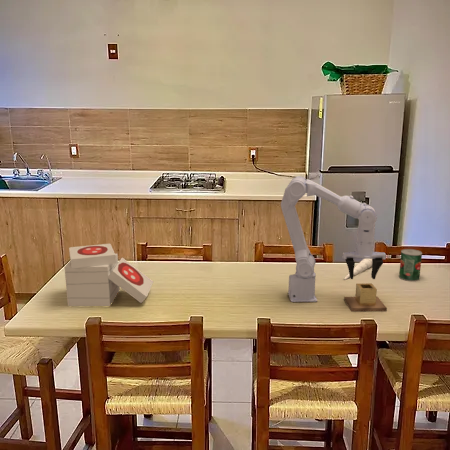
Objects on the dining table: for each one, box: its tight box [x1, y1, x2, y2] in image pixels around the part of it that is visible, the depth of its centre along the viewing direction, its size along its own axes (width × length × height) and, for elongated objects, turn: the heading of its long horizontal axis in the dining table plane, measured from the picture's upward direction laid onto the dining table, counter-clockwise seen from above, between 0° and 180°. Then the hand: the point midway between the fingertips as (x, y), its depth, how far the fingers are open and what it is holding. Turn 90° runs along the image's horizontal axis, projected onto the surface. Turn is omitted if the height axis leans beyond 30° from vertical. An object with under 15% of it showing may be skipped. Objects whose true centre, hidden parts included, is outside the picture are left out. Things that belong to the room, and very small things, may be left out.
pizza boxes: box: [64, 243, 154, 307], centre depth 175 cm, size 19×30×18 cm, turn 89°
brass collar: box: [354, 282, 378, 306], centre depth 169 cm, size 6×6×6 cm
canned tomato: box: [398, 248, 423, 282], centre depth 196 cm, size 8×8×11 cm
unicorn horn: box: [343, 259, 372, 280], centre depth 203 cm, size 5×24×5 cm, turn 135°
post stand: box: [343, 295, 388, 312], centre depth 170 cm, size 12×10×4 cm
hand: (362, 278), depth 170 cm, fingers open, 7 cm apart
